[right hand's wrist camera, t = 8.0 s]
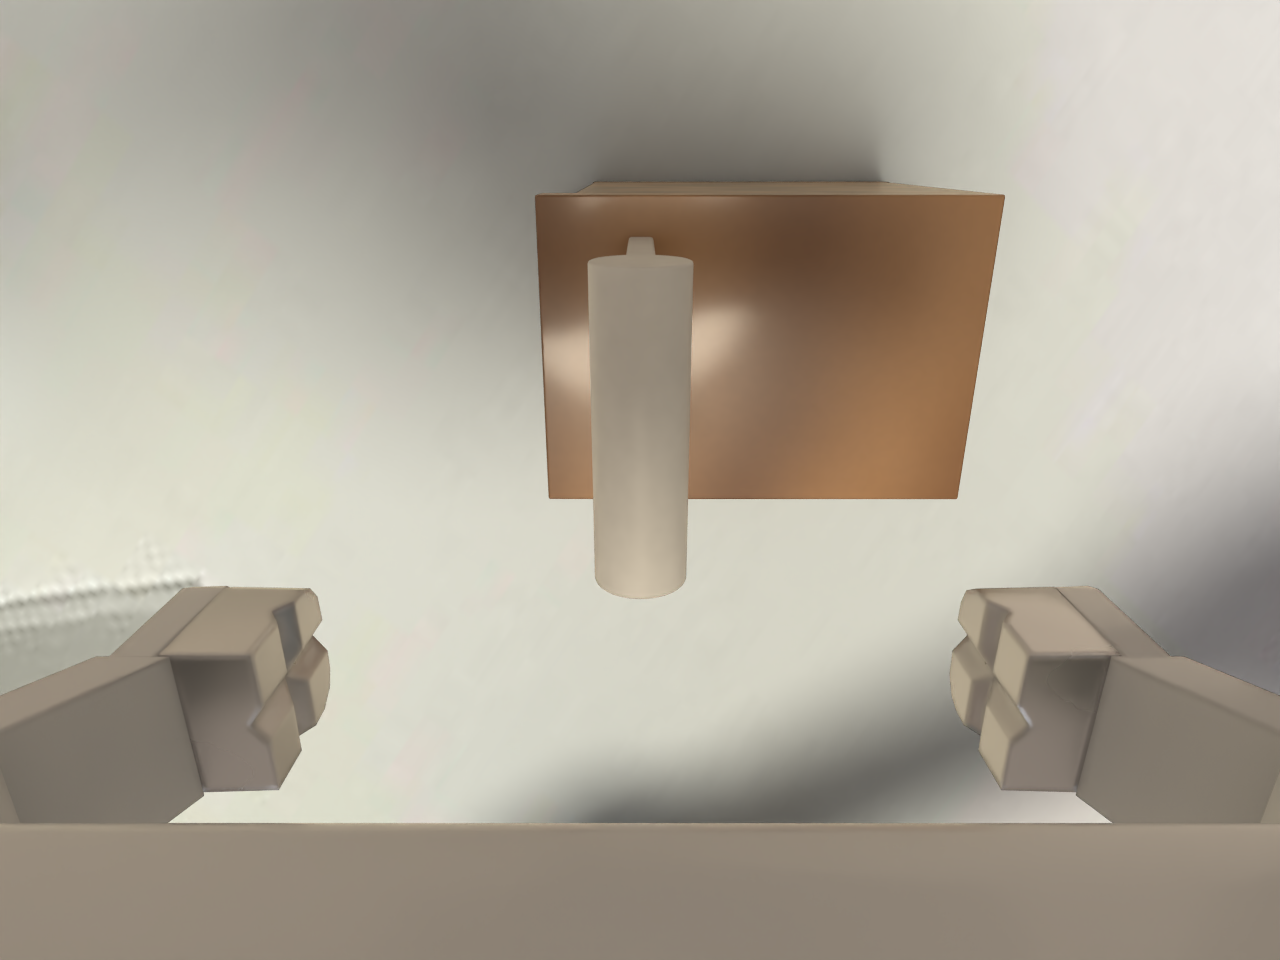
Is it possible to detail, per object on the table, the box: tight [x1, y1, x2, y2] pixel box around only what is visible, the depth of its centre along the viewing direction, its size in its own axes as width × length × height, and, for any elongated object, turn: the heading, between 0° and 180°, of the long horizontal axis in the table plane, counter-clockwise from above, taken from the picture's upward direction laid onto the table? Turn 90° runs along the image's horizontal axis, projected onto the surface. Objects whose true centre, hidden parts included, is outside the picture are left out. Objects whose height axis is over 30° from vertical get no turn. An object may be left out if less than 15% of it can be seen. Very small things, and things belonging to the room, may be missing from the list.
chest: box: [577, 182, 982, 193], centre depth 31 cm, size 12×9×11 cm
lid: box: [535, 193, 1005, 599], centre depth 21 cm, size 13×9×9 cm
